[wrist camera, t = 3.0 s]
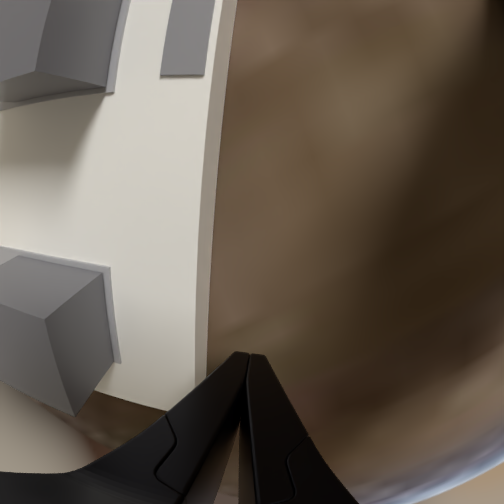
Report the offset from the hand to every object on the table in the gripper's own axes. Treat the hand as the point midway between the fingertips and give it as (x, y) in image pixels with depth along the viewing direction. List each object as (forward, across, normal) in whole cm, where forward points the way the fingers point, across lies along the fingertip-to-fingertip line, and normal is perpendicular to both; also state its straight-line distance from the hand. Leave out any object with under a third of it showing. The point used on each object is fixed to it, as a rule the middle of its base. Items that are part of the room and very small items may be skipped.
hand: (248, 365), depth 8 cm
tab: (+1, +7, 0) cm, 7 cm away
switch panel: (+3, +9, -9) cm, 13 cm away
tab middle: (+1, +7, -9) cm, 11 cm away
